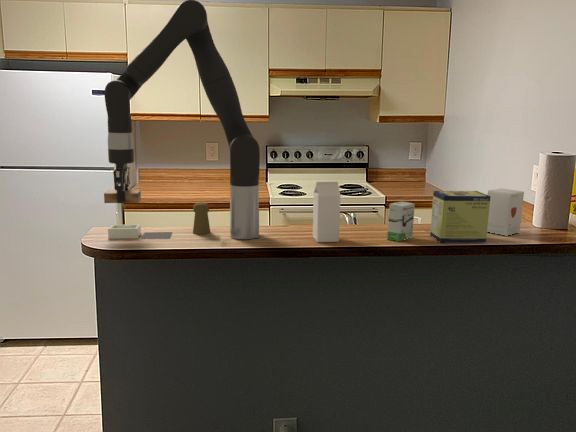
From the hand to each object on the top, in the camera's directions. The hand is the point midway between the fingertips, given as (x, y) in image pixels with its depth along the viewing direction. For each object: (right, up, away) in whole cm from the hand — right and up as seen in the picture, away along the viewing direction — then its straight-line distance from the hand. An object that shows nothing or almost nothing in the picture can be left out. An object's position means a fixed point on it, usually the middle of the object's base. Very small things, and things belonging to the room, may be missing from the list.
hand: (123, 201), depth 164 cm
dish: (0, -12, +3) cm, 12 cm away
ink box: (+89, -12, +9) cm, 90 cm away
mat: (+10, -12, +4) cm, 16 cm away
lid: (0, 0, 0) cm, 0 cm away
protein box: (+108, -13, +9) cm, 109 cm away
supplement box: (+127, -11, +19) cm, 129 cm away
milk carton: (+64, -13, +6) cm, 65 cm away
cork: (+23, -11, +8) cm, 27 cm away
